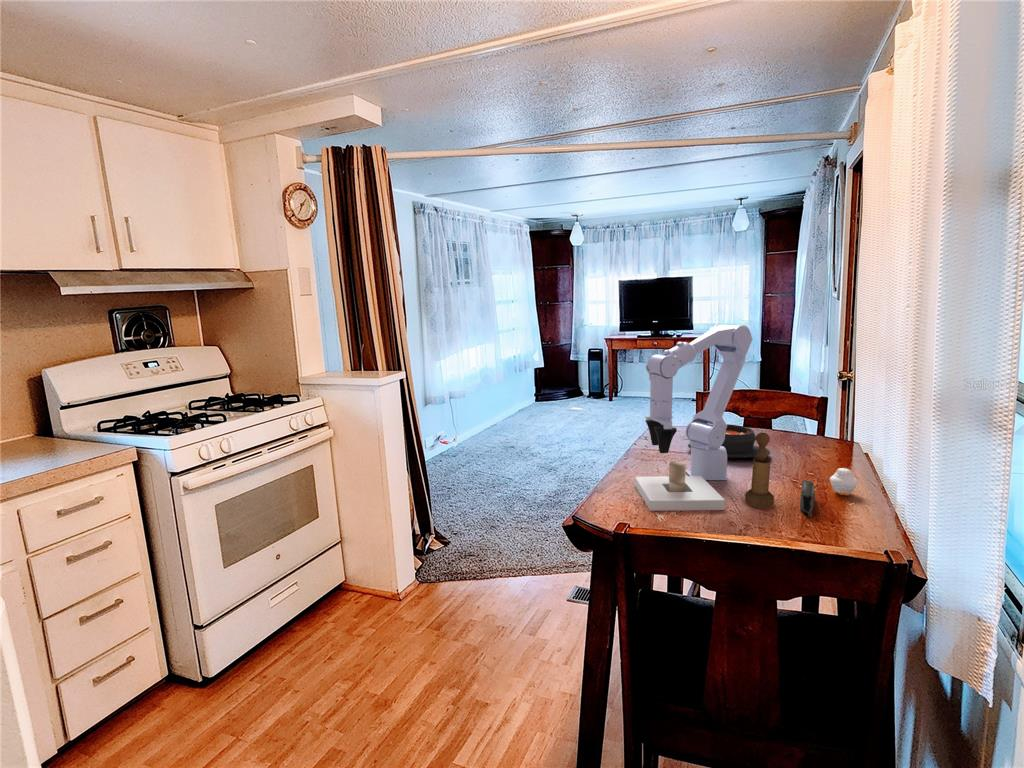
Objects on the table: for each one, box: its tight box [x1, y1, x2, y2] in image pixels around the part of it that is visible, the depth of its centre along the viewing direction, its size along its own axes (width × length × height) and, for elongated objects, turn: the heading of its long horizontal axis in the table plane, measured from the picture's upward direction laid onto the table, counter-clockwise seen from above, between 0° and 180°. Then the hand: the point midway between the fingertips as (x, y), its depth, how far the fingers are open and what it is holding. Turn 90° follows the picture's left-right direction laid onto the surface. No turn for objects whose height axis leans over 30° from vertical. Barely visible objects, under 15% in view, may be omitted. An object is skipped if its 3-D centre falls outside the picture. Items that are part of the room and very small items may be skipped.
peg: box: [668, 460, 687, 492], centre depth 143 cm, size 4×4×9 cm
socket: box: [634, 475, 726, 512], centre depth 144 cm, size 18×18×2 cm
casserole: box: [687, 423, 771, 460], centre depth 180 cm, size 25×19×8 cm
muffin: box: [829, 467, 858, 494], centre depth 144 cm, size 6×6×7 cm
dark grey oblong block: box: [799, 480, 816, 518], centre depth 136 cm, size 5×3×15 cm
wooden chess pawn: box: [744, 432, 775, 509], centre depth 137 cm, size 7×6×18 cm
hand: (659, 448), depth 151 cm, fingers open, 7 cm apart
